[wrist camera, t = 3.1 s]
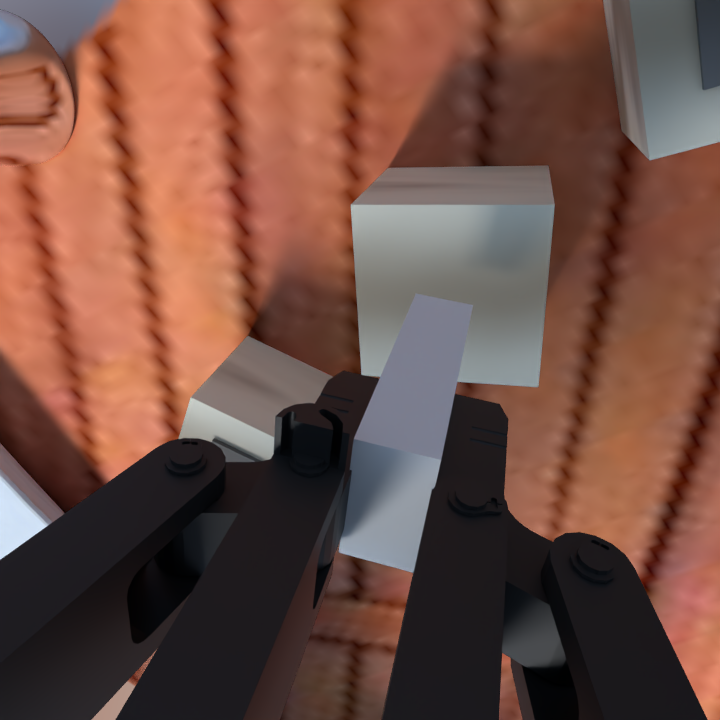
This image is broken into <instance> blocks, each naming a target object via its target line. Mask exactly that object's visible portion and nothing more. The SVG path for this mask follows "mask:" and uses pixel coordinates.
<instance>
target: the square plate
mask: <svg viewBox="0 0 720 720" xmlns="http://www.w3.org/2000/svg"><path fill="white" fill-rule="evenodd" d="M63 514H65V513H64V512H63V511H62V510H61V509H60V508H59V506H58V505H57V504H56V503H55V502H54V501H53V500H52V499H51V498H50V497H49V496H48V495H47V494H46V492H45V491H44V490H43V489H42V488H41V487H40V486H39V485H38V484H37V483H36V482H35V481H34V480H33V478H32V477H31V476H30V475H29V474H28V473H27V472H26V471H25V470H24V469H23V468H22V466H21V465H20V464H19V463H18V462H17V461H16V460H15V459H14V458H13V457H12V456H11V454H10V453H9V452H8V451H7V450H6V449H5V448H4V447H3V446H2V444H1V443H0V560H1V559H2V558H3V557H5V556H6V555H8V554H9V553H10V552H12V551H13V550H15V549H16V548H17V547H19V546H20V545H21V544H23V543H24V542H26V541H27V540H28V539H30V538H31V537H33V536H34V535H35V534H37V533H38V532H40V531H41V530H42V529H44V528H45V527H47V526H48V525H49V524H51V523H52V522H54V521H55V520H56V519H58V518H59V517H61V516H62V515H63Z"/></svg>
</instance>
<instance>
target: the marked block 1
mask: <svg viewBox="0 0 720 720" xmlns="http://www.w3.org/2000/svg"><path fill="white" fill-rule="evenodd" d="M332 377H333V376H331V375H329V374H326V373H324V372H322V371H320V370H318V369H316V368H314V367H312V366H310V365H308V364H306V363H303V362H301V361H299V360H297V359H295V358H293V357H291V356H289V355H287V354H285V353H283V352H280V351H278V350H276V349H274V348H272V347H270V346H268V345H266V344H264V343H262V342H260V341H257V340H255V339H253V338H251V337H249V336H247V337H246V338H245V339H244V340H243V342H242V343H241V344H240V345H239V346H238V347H237V348H236V349H235V350H234V351H233V352H232V353H231V354H230V356H229V357H228V358H227V359H226V360H225V361H224V362H223V363H222V364H221V365H220V366H219V367H218V369H217V370H216V371H215V372H214V373H213V374H212V375H211V376H210V377H209V378H208V379H207V380H206V381H205V383H204V384H203V385H202V386H201V387H200V388H199V389H198V390H197V391H196V392H195V393H194V394H193V396H192V397H191V399H190V402H189V405H188V409H187V412H186V415H185V419H184V422H183V426H182V429H181V432H180V436H179V439H182V438H199V439H203V440H206V441H210V442H212V443H214V444H215V445H217V446H218V447H219V448H221V450H222V451H223V453H224V455H225V457H226V462H260V461H264V460H268V459H271V457H272V456H273V454H274V435H275V416H276V415H277V414H278V413H280V412H281V411H282V410H283V409H285V408H287V407H290V406H292V405H295V404H303V403H315V402H316V401H317V399H318V397H319V395H321V392H322V390H323V388H324V387H325V385H326V383H327V381H328V380H329V379H331V378H332Z"/></svg>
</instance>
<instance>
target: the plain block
mask: <svg viewBox="0 0 720 720" xmlns="http://www.w3.org/2000/svg"><path fill="white" fill-rule="evenodd" d="M554 207H555V203H554V197H553V191H552V184H551V178H550V171H549V165H547V166H475V167H403V168H387V169H386V170H385V171H384V172H383V173H382V174H381V175H380V176H379V177H378V178H377V179H376V180H375V181H374V182H373V183H372V184H371V185H370V186H369V187H368V188H367V189H366V190H365V191H364V192H363V193H362V194H361V195H360V196H359V197H358V198H357V199H356V200H355V201H354V202H353V203H352V204H351V216H352V232H353V247H354V263H355V279H356V295H357V311H358V326H359V342H360V358H361V374H362V375H365V376H378V377H380V376H381V374H382V372H383V369H384V367H385V365H386V362H387V360H388V358H389V355H390V353H391V351H392V348H393V346H394V344H395V341H396V339H397V337H398V334H399V332H400V329H401V327H402V325H403V322H404V320H405V318H406V315H407V313H408V311H409V308H410V306H411V304H412V301H413V299H414V297H415V294H420V295H425V296H430V297H435V298H440V299H445V300H450V301H455V302H460V303H465V304H470V305H473V308H472V313H471V318H470V322H469V327H468V332H467V337H466V342H465V347H464V352H463V356H462V361H461V366H460V371H459V376H458V381H457V382H467V383H482V384H497V385H512V386H527V387H538V386H539V375H540V364H541V353H542V342H543V330H544V319H545V308H546V297H547V286H548V274H549V263H550V252H551V241H552V230H553V219H554Z"/></svg>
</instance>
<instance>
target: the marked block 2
mask: <svg viewBox="0 0 720 720" xmlns="http://www.w3.org/2000/svg"><path fill="white" fill-rule="evenodd" d="M603 4H604V11H605V18H606V25H607V32H608V39H609V46H610V53H611V60H612V67H613V74H614V81H615V88H616V95H617V102H618V109H619V116H620V123H621V130H622V132H623V133H624V134H625V135H626V136H627V137H628V138H629V139H630V140H631V141H632V142H633V143H634V144H635V145H636V147H637V148H638V149H639V150H640V151H641V152H642V153H643V154H644V155H645V156H646V157H647V158H648V159H649V160H653V159H657V158H661V157H665V156H668V155H672V154H676V153H680V152H684V151H687V150H691V149H695V148H699V147H702V146H706V145H710V144H714V143H718V142H720V0H603Z"/></svg>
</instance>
